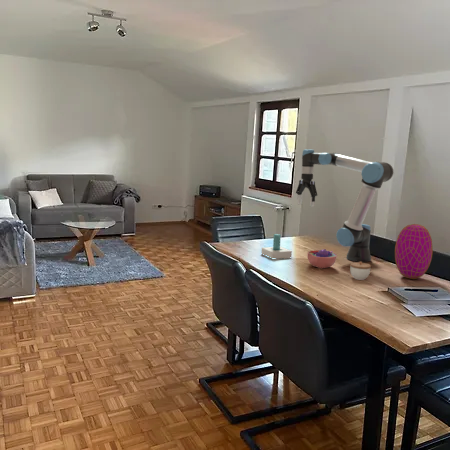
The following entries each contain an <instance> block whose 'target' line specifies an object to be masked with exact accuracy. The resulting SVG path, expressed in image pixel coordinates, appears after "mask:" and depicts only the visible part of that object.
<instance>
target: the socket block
mask: <svg viewBox="0 0 450 450" xmlns="http://www.w3.org/2000/svg"><path fill="white" fill-rule="evenodd" d="M261 253H262V254H264V255H267V256H269V257H271V258H284V259H291V258H292V253H293V251H292V250H290V249H287V248H285V247H282V246H280V250H276V251H275V250H273V246H269V247H261ZM262 254H261V255H262ZM264 255H263V256H264ZM290 257H291V258H290Z"/></svg>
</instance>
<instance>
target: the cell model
mask: <svg viewBox="0 0 450 450" xmlns="http://www.w3.org/2000/svg"><path fill="white" fill-rule="evenodd" d="M337 254H338V253H335V252H333V251H332V250H331V251H329V250H326V249H324V248H323V249H319V250H318V249H317V250H315V249H314V250H310V251H309V250H308V251H307V255H306V258H307V260H308V262H309V263H310V265H311V266H312V267H315V268H319V269H327V268H330V267H333V266H334V265H335V263H336V262H337V261H336V259H337V258H338V255H337Z"/></svg>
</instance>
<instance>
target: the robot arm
mask: <svg viewBox="0 0 450 450" xmlns="http://www.w3.org/2000/svg"><path fill="white" fill-rule="evenodd" d="M315 165H321V166H326V165H327V166H328V165H332V166H335V167H339V168H342V169H343V168H344V169H346V170H347V169H348V170H350V171H351V170H352V171H355V172H360V173H361V177H362V179H361V185H362V186H361V188H360V189H359V193H358V195H357V198H356V199H355V203H354V204H353V208H352V210H351V211H350V215H349V216H348V219H347V220H345V221H344V223H343V225H342V227H341V228H339V229H338V230H337V231H336V234H335V235H336V240H337V243H338V244H340V245H341V246H342V247H349V248H348V252H347V253H346V257H345V258H346V259H347V260H349V261H352V262H360V261H361V262H362V263H367V262H371V260H372V256H371V251H370V241H371V232H372V228H371V227H372V226H371V225H369V224H366V223H364V221H365V218H366V216H367V214H368V211H369V209H370V207H371V204H372V202H373V200H374V198H375V194H376V192H377V190H380V189H381V187H382V186H383V183H385V182H388V181H390V180H391V179H392V177H393V176H394V167H393V166H392V165H391V164H390V163H388V162H385V161H368V160H364V159H360V158H356V157H352V156H348V155H344V154H343V155H342V154H339V153H336V152H315V149H308V148H307V149H303V150H302V154H301V177H300V178H301V179H299V181H298V185H297V188H296V191H295V194H297V205H303V204H302V203H303V192H304V191H305V189H308V191H309V193H310V202H309V207H311V208H314V207H315V202H316V197H317V196H318V192H317V187H316V182H315V180H314V166H315ZM312 180H313V181H312Z"/></svg>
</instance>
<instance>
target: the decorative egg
mask: <svg viewBox="0 0 450 450" xmlns="http://www.w3.org/2000/svg"><path fill="white" fill-rule="evenodd" d="M432 259H433V240H432V236H431V233H430V232H429V229H427V228H426V227H425V226H424V225H421V224H419V223H418V224H417V223H412V224H408V225H406V226H405V227H402V229H401V230H400V232H399V234H398V236H397V238H396V241H395V246H394V261H395V266H396V268H397V270H398V272H399V274H400V275H401V276H403V277H404V278H407V279H410V280H411V279H412V280H416V279H419V278H422V277H423V276H424V274H425V273H427V271H428V269H429V267H430V265H431V262H432Z"/></svg>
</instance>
